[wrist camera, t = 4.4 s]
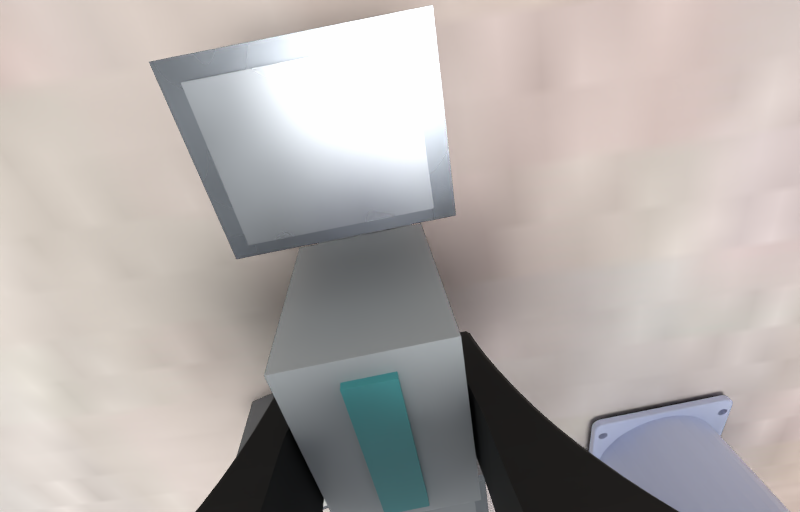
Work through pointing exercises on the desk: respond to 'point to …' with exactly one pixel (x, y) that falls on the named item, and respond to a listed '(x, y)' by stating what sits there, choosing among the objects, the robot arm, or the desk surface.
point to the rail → (319, 135)
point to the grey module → (375, 376)
